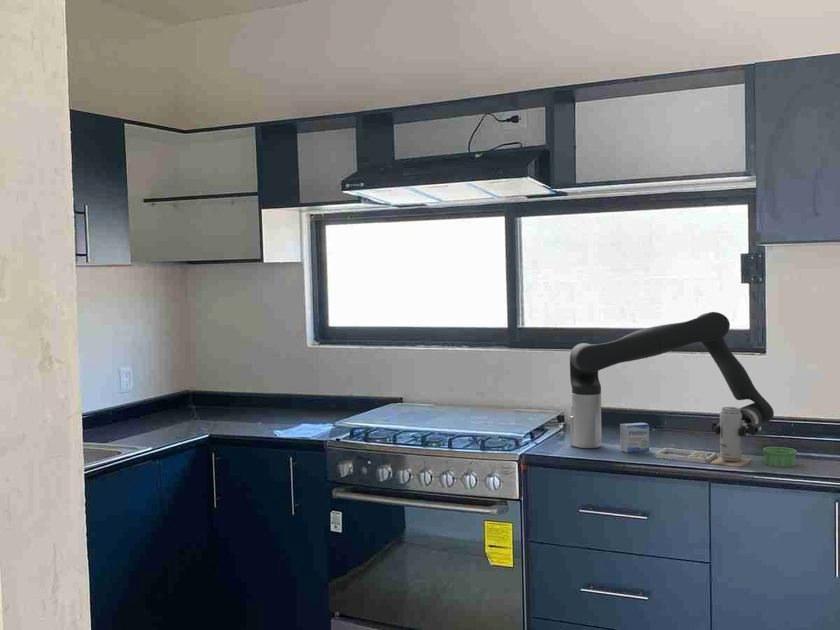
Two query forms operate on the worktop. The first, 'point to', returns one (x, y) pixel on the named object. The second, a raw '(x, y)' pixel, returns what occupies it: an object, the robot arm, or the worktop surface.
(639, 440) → the medicine box
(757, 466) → the worktop surface
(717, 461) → the cork mat
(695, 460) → the parts tray
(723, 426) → the energy drink can
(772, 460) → the ramekin
